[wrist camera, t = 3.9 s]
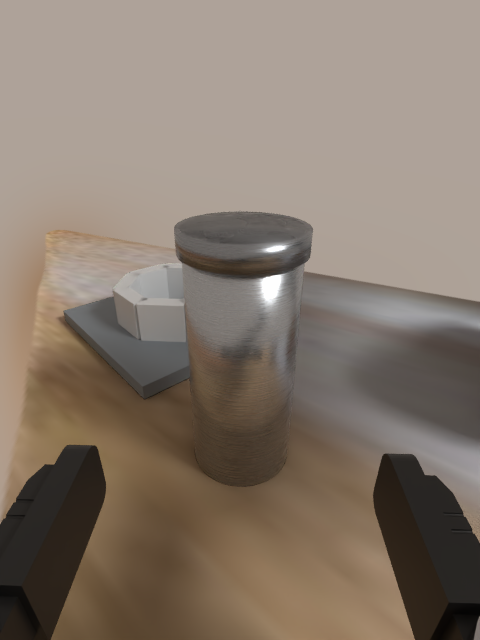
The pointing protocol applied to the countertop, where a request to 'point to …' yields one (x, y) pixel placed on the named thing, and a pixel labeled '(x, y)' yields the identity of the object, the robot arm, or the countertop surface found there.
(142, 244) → the countertop surface
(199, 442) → the silver metal canister
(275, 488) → the countertop surface
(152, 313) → the collar
